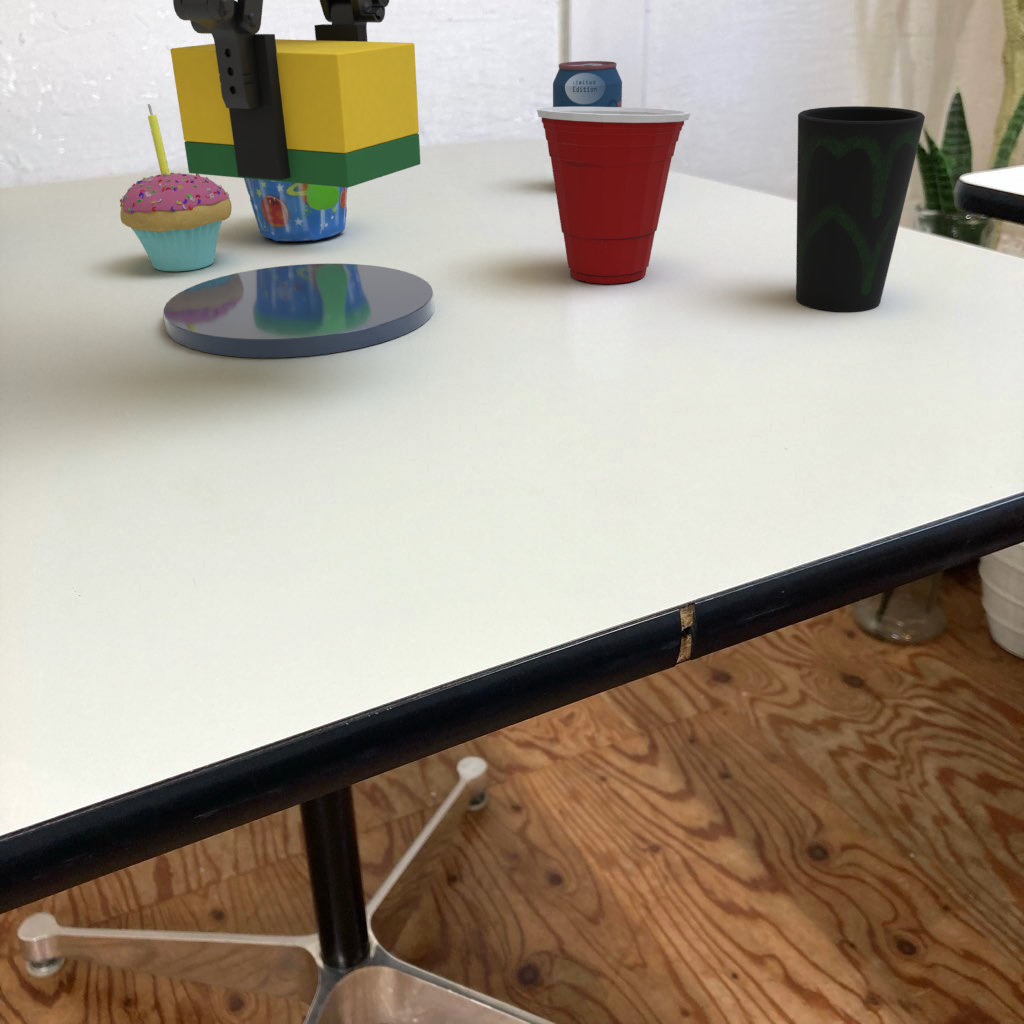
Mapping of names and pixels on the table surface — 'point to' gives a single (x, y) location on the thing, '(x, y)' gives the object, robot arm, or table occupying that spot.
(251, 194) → the snack cup
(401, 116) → the sponge
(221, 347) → the plate
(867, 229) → the cup
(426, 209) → the table surface
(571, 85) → the soda can
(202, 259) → the cupcake
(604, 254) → the plastic cup
